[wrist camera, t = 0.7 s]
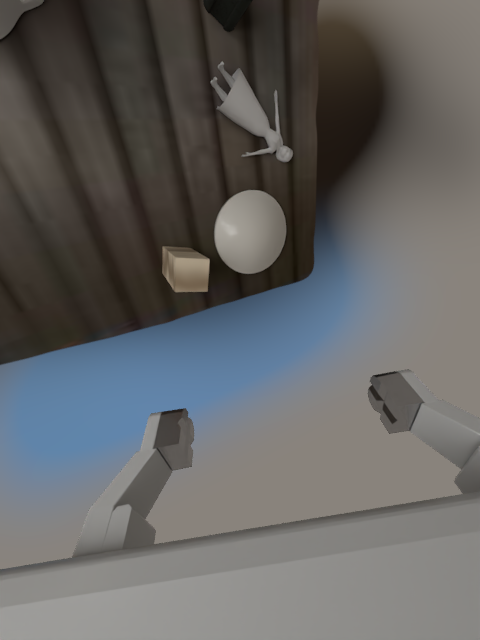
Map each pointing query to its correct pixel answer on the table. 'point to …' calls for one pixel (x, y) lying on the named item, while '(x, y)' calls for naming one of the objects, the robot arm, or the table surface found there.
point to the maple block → (185, 269)
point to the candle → (227, 11)
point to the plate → (250, 231)
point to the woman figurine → (250, 113)
